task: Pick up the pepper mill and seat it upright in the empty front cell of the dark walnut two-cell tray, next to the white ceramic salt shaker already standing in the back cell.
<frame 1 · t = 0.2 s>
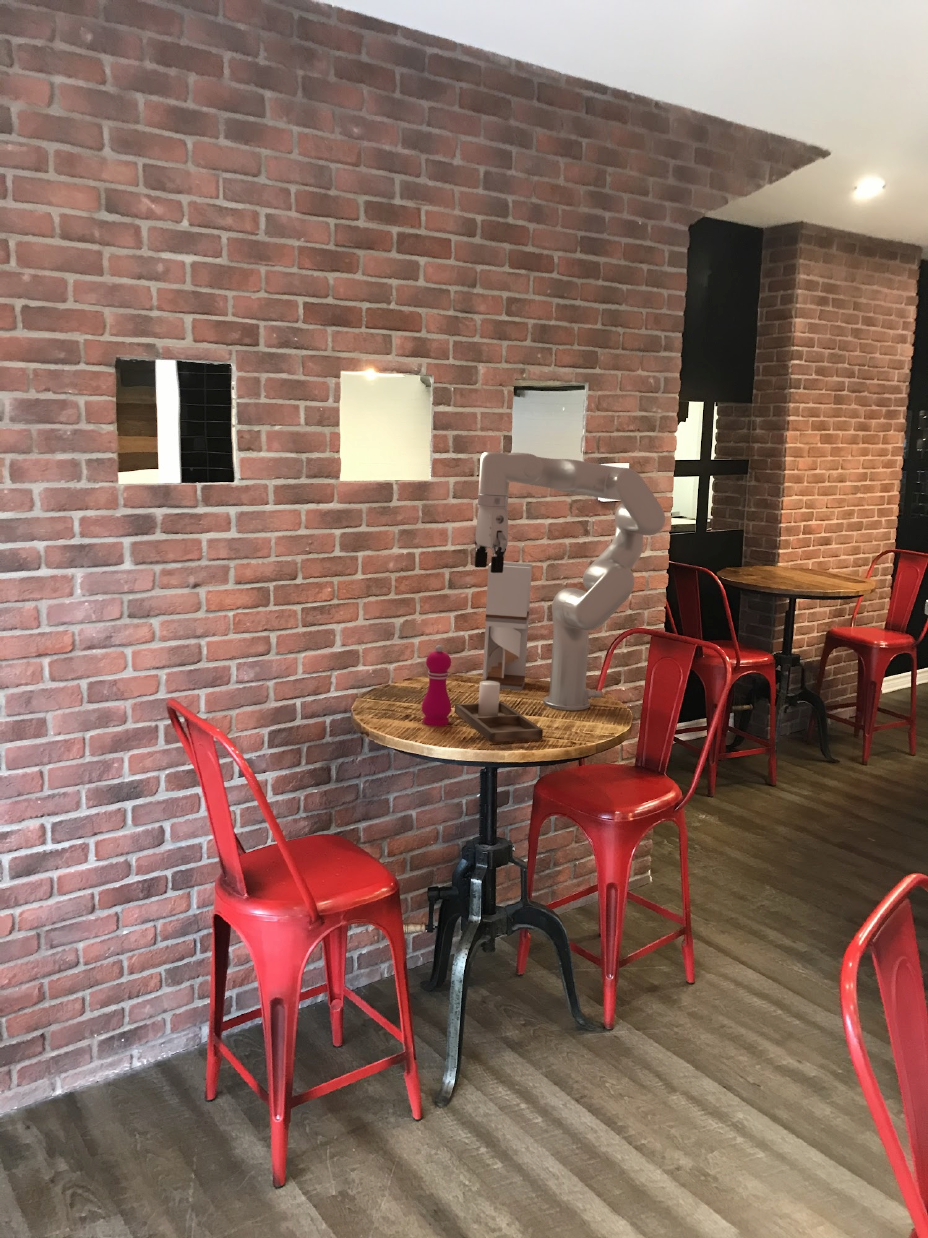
hand: (488, 569, 249), 37 cm above the table, tool pointing down, fingers open, 9 cm apart
walnut cruet tray: (496, 728, 239), on the table
pepper mill: (435, 726, 239), on the table
salt shaker: (487, 718, 245), point 1 cm above the table, touching walnut cruet tray
spiral ramp tower: (503, 685, 283), on the table
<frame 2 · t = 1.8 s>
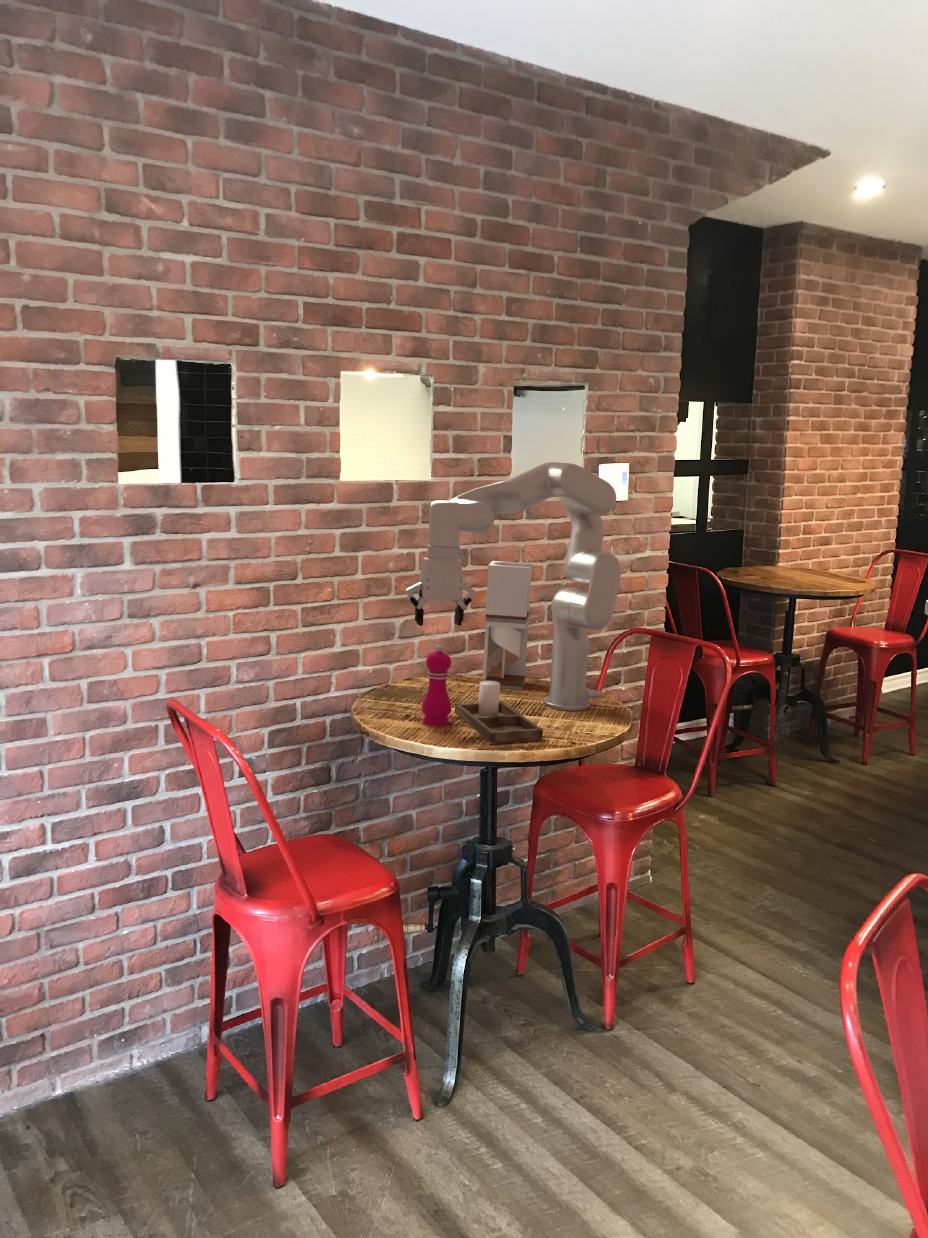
hand: (438, 624, 235), 25 cm above the table, tool pointing down, fingers open, 9 cm apart
nothing on the table moved.
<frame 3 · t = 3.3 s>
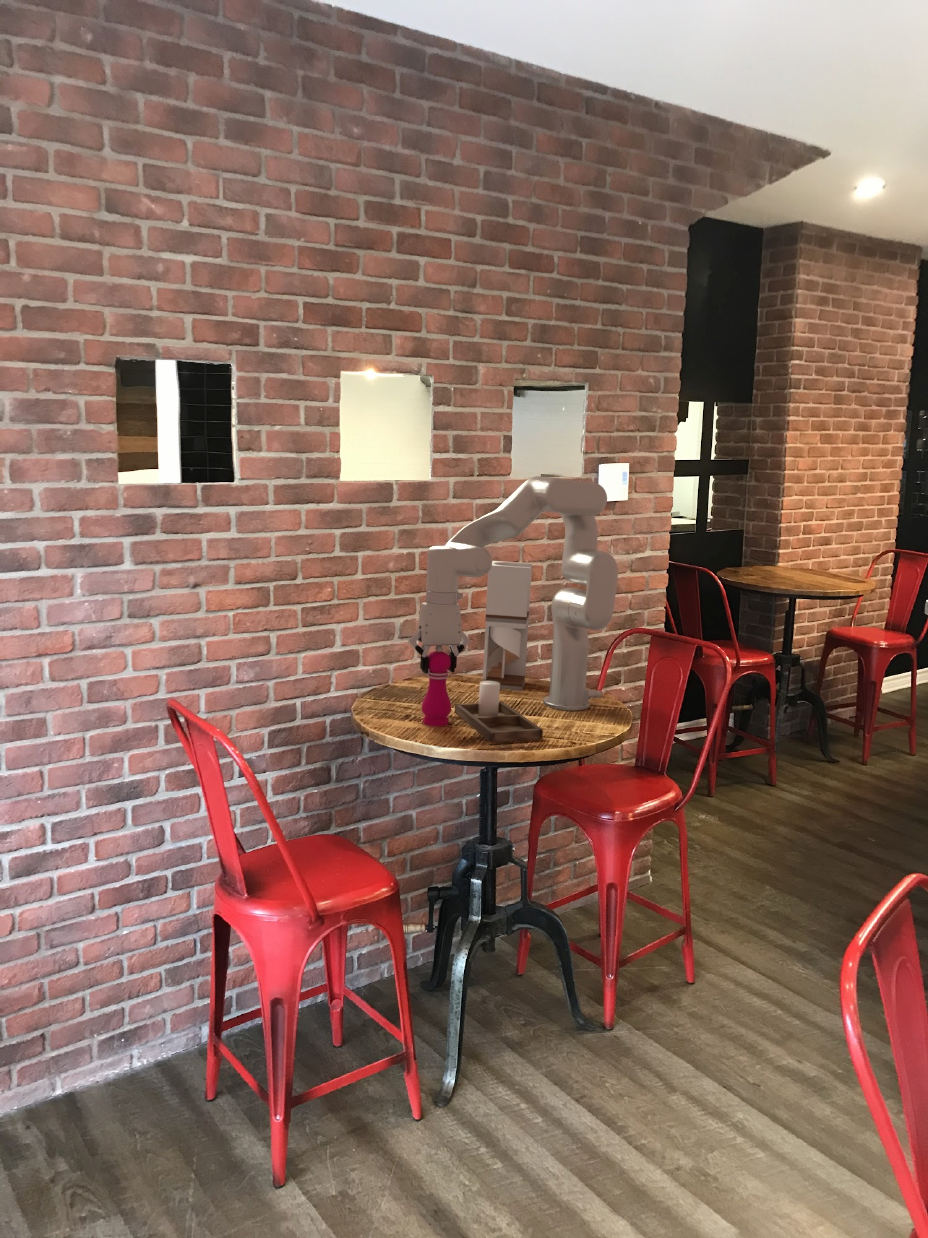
hand: (438, 671, 237), 14 cm above the table, tool pointing down, fingers closed on pepper mill, 6 cm apart
pepper mill: (435, 726, 239), on the table, touching gripper
everything else where it was.
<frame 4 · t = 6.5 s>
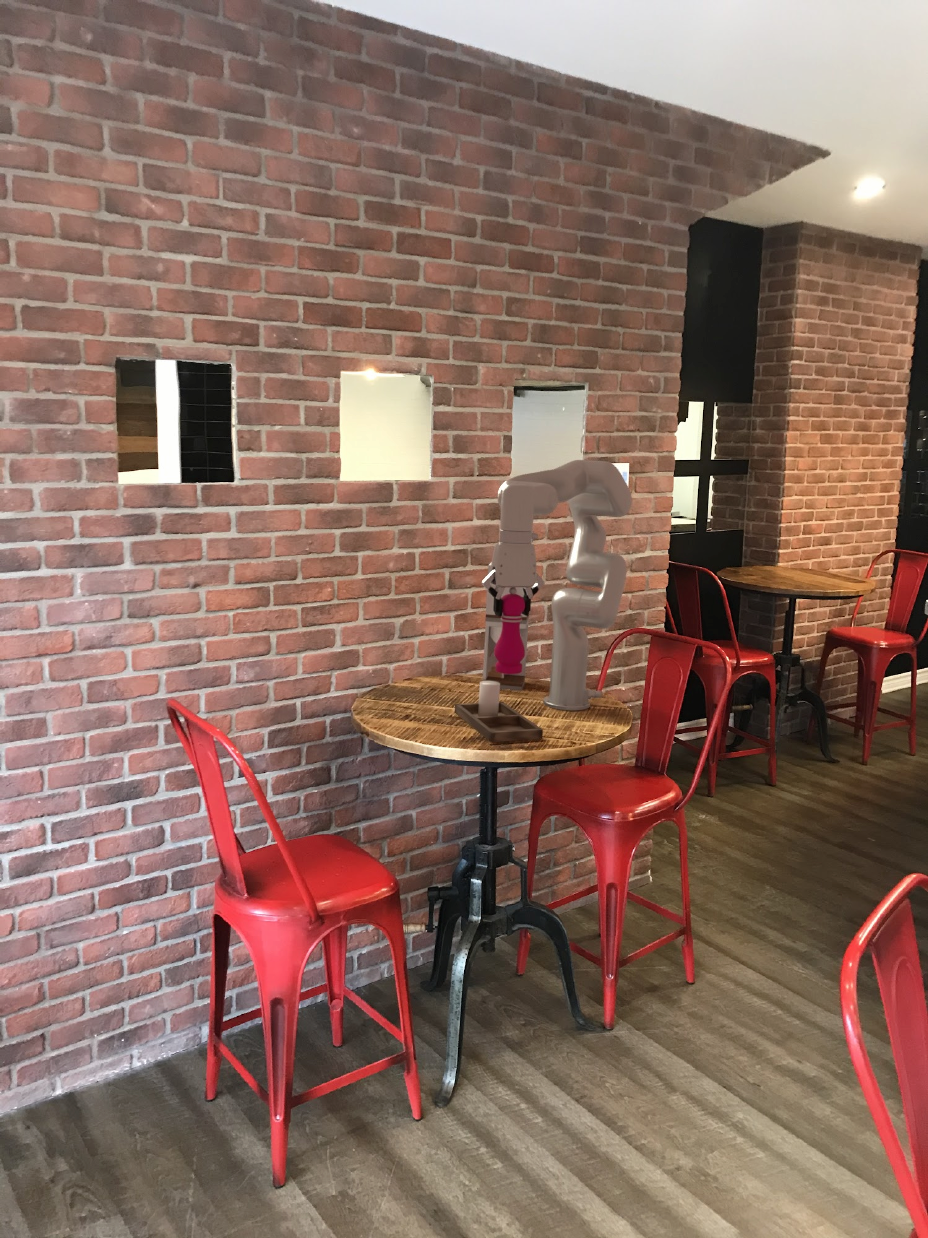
hand: (511, 614, 229), 29 cm above the table, tool pointing down, fingers closed on pepper mill, 6 cm apart
pepper mill: (508, 671, 231), point 15 cm above the table, touching gripper
everything else where it was.
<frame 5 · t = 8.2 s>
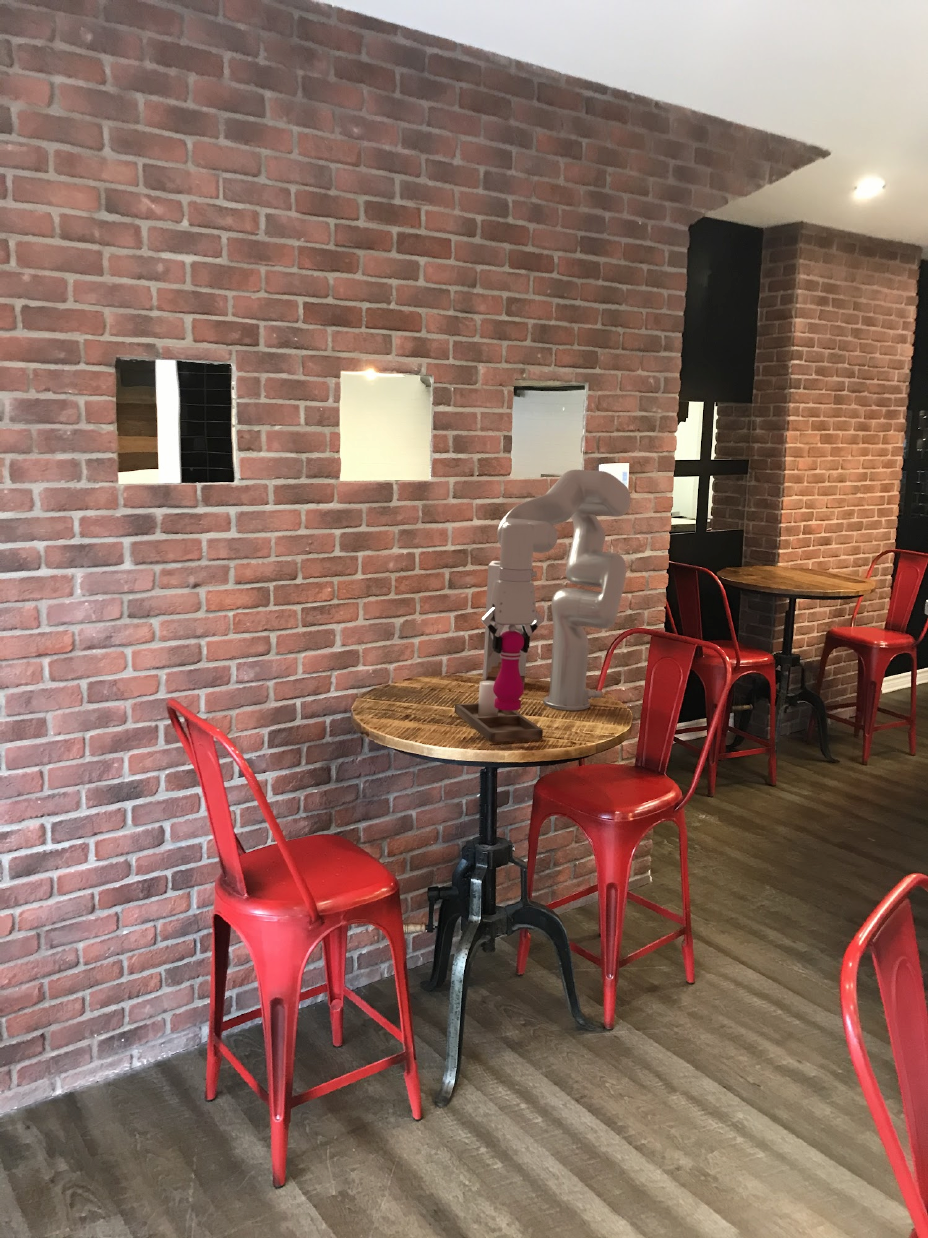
hand: (510, 651, 230), 21 cm above the table, tool pointing down, fingers closed on pepper mill, 6 cm apart
pepper mill: (507, 708, 233), point 7 cm above the table, touching gripper
everything else where it was.
when the fingers open (16 cm above the table, at t = 9.6 s): pepper mill drops 1 cm, resting on walnut cruet tray.
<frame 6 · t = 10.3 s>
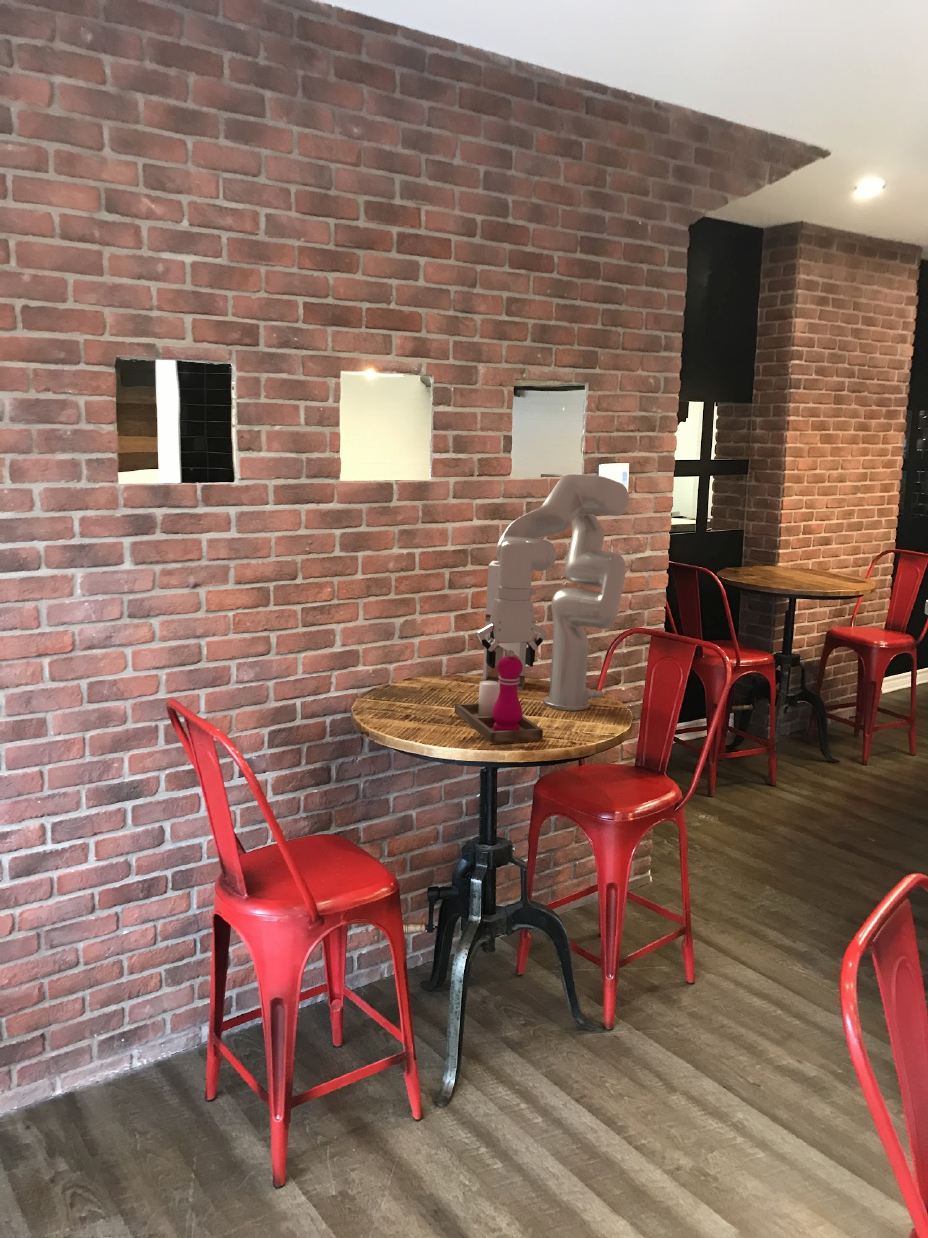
hand: (510, 666, 231), 17 cm above the table, tool pointing down, fingers open, 9 cm apart
pepper mill: (506, 732, 234), point 1 cm above the table, touching walnut cruet tray
everything else where it was.
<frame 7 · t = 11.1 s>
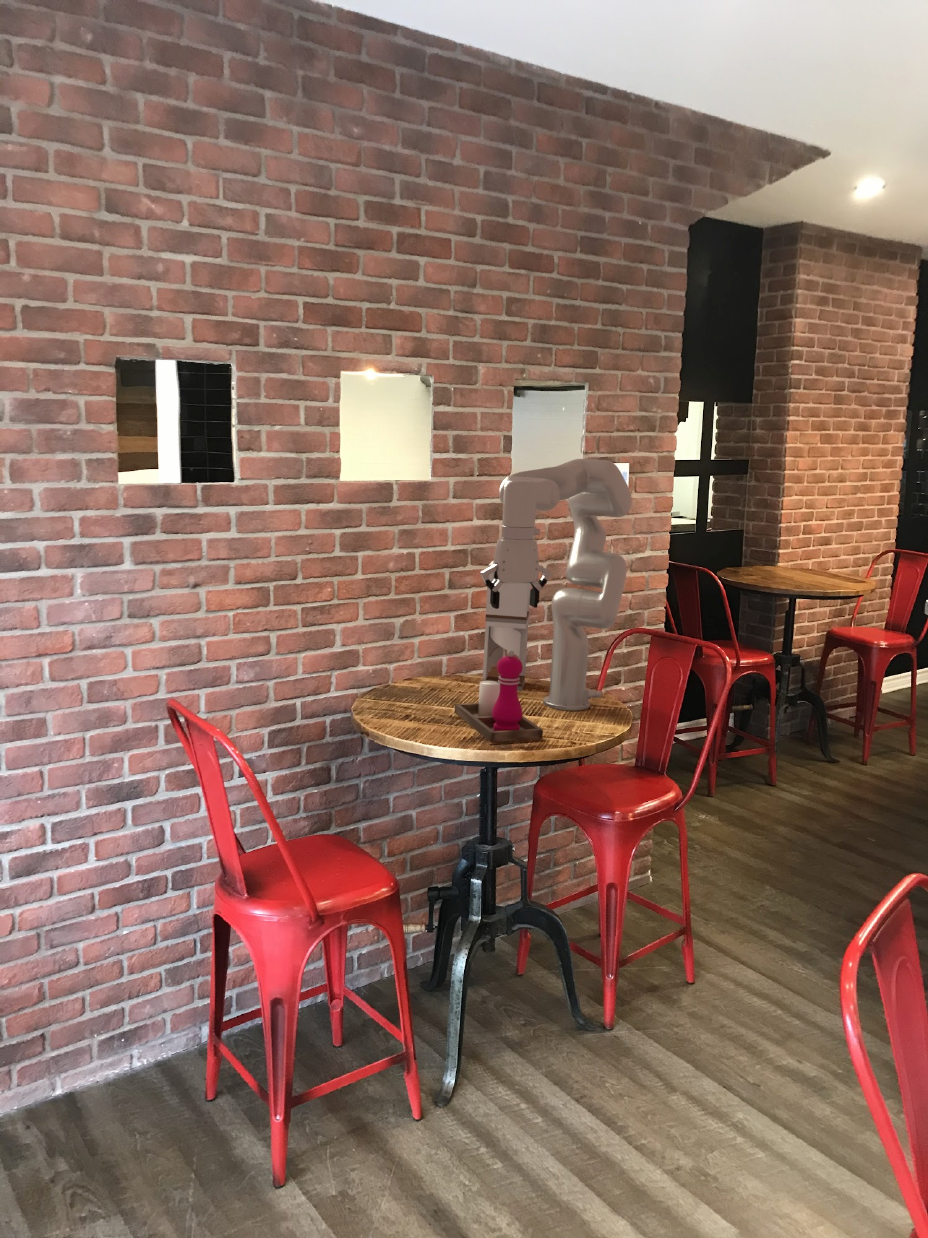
hand: (514, 607, 229), 31 cm above the table, tool pointing down, fingers open, 9 cm apart
nothing on the table moved.
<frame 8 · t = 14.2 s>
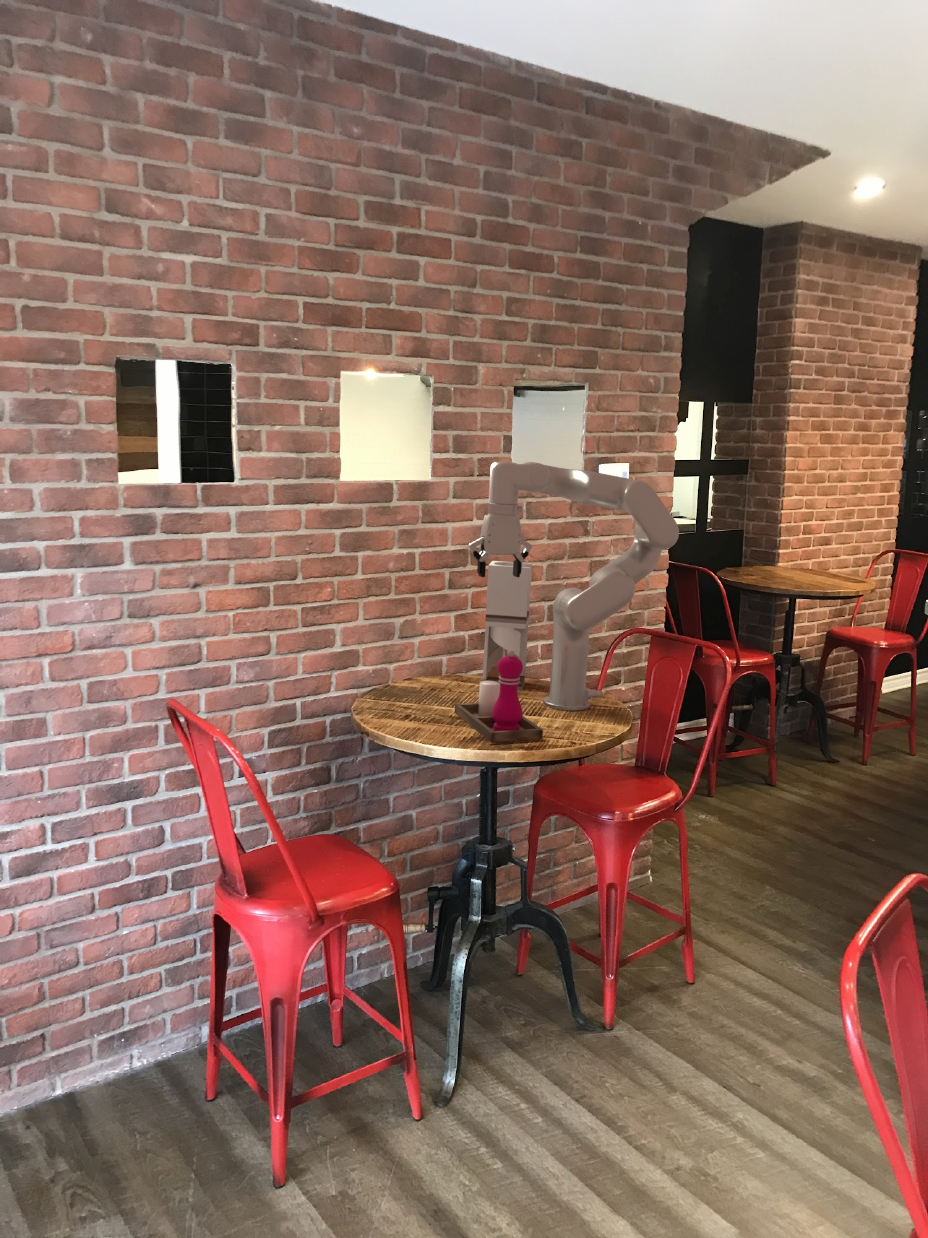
hand: (499, 576, 255), 34 cm above the table, tool pointing down, fingers open, 9 cm apart
nothing on the table moved.
at the end: pepper mill 0.1 cm from the target spot on the walnut cruet tray, point 0.6 cm above the walnut cruet tray's base; pepper mill tilted 0°; the gripper is holding nothing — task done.
